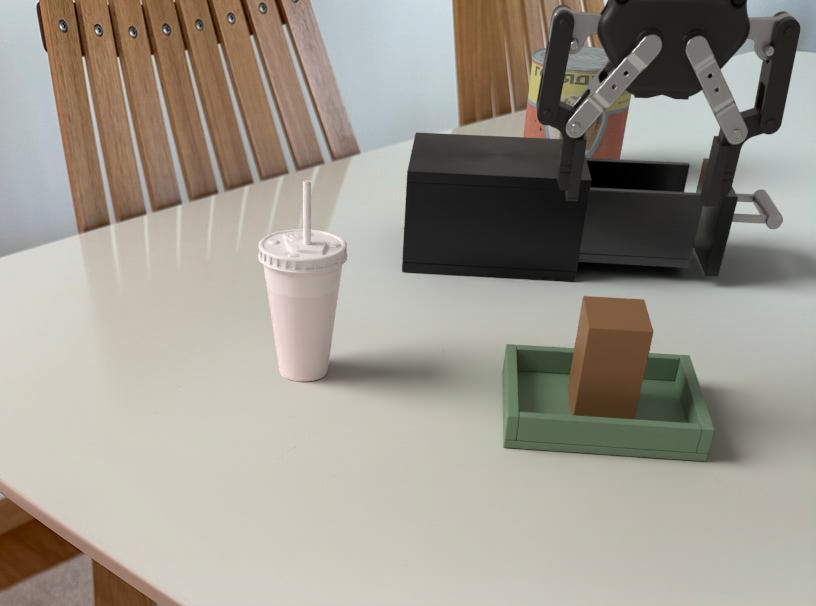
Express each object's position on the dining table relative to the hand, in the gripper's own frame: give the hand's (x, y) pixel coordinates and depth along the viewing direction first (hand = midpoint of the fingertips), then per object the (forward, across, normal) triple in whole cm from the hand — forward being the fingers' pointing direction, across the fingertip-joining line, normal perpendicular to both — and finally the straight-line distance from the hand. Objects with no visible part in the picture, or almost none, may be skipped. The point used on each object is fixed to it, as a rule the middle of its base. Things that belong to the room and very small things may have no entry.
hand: (639, 200), depth 66 cm
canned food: (+15, 0, +58) cm, 60 cm away
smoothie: (+15, -22, +3) cm, 27 cm away
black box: (+15, -8, +31) cm, 36 cm away
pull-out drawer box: (+14, +7, +31) cm, 35 cm away
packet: (+14, 0, -1) cm, 14 cm away
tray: (+15, 0, -1) cm, 15 cm away
